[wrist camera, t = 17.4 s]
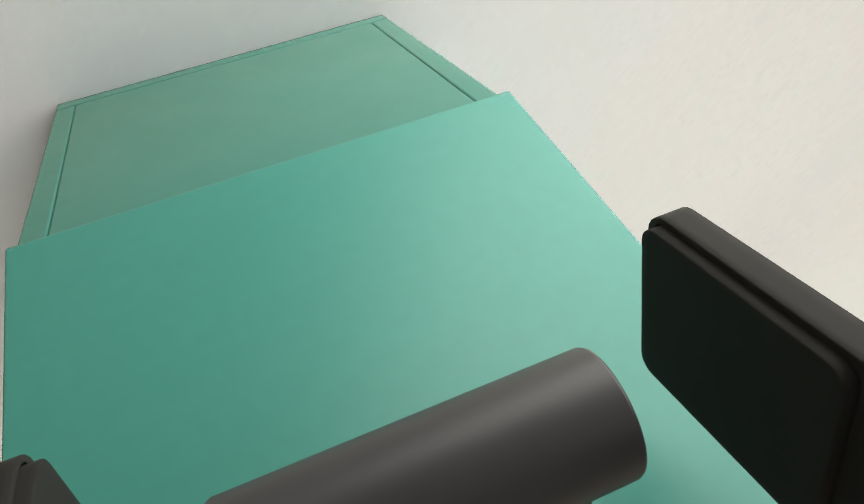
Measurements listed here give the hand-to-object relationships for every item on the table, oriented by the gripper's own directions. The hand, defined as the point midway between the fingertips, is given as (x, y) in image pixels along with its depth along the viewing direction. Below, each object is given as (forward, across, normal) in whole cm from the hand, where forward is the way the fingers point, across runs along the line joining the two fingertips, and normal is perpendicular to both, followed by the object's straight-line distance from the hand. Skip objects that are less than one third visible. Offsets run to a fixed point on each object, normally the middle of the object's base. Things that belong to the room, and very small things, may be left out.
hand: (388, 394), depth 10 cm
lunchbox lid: (+4, 0, +3) cm, 5 cm away
